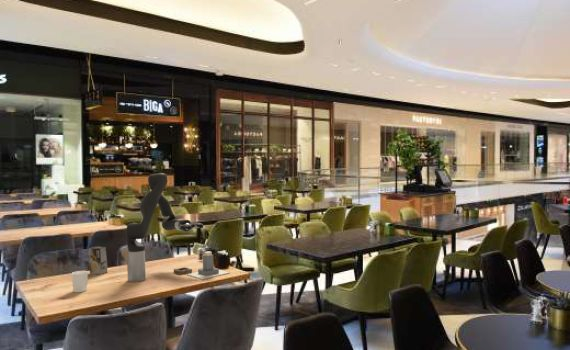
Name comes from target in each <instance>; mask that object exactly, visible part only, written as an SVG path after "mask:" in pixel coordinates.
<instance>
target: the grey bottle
mask: <svg viewBox="0 0 570 350" xmlns="http://www.w3.org/2000/svg"><path fill="white" fill-rule="evenodd" d="M212 253H213V252H212V251H204V252H203V255H202V268H203V270H205V271H209V270H214V268H215V267H214V254H212Z"/></svg>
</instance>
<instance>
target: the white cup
mask: <svg viewBox="0 0 570 350" xmlns="http://www.w3.org/2000/svg"><path fill="white" fill-rule="evenodd" d="M71 283H72V292H73V293H81V292H82V293H83V292H86V291H87V290H88V270H76V271H72V272H71Z"/></svg>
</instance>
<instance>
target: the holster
mask: <svg viewBox="0 0 570 350" xmlns="http://www.w3.org/2000/svg"><path fill="white" fill-rule="evenodd" d="M173 273H174V274H177V275H187V274H191V273H193V269H192V268H190V267H186V266H184V267H179V268H174V269H173Z"/></svg>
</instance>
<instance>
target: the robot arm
mask: <svg viewBox="0 0 570 350" xmlns="http://www.w3.org/2000/svg"><path fill="white" fill-rule="evenodd" d="M147 183H148V186H149V188H150V191H149V192H147V194H145V196H144V197H143V198H142V199H141V202H140V204H139V210H140V214H141V215H142V220H141V222H130V223H128V224H127V225H126V229H125V231H126V233H125V234H126V246H127V249H128V250H127V252H128V257H127V258H128V263H127V265H126V266H127V269H126V270H127V281H129V282H131V283H134V282H136V283H137V282H143V281H145V280H146V279H147V278H146V276H147V275H146V249H145V248H146V247H145V245H144V244H142V243H140V242H139V241H138V240H142V239H145V238H146V237H147V234H148V231H149V227H150V224H151V221H152V218H153V215H154V213H155V211H156V209H157V206H158V207H159V211H160V213H161V217H164V218H165V219H164V220H163V221H162V222H161V227H162V228H163V229H164V231H174V230H176V231H177V230H178V231H181V232H189V231H191V230H192V229H204V224H203V223H201V222H191V221H190V220H189V219H185V218H177V217H176V215H175V214H174V212H173V210H172V206H171V204H170V202H169V200H168V199H167V197H165V196H164V195H163V193H164V190H165V188H166V187H167V183H168V175H167V174H166V173H164V172H161V173H151V174H149V176H148V178H147ZM166 217H167V218H166Z"/></svg>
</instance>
